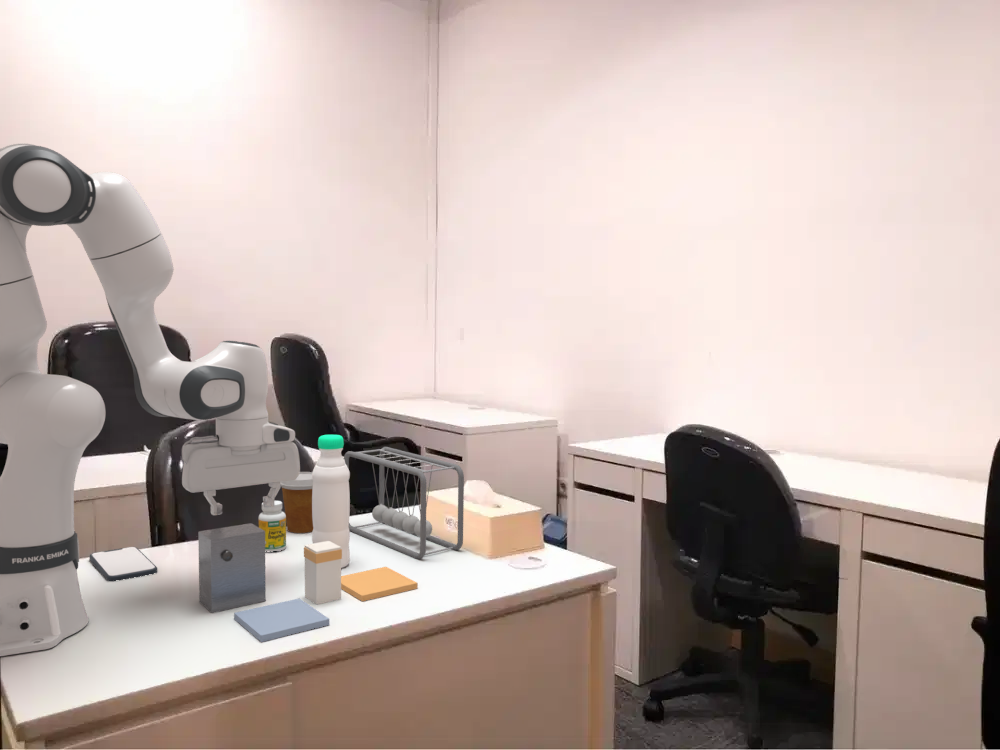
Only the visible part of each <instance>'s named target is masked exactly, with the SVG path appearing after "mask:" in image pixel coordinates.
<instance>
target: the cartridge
mask: <svg viewBox="0 0 1000 750" xmlns="http://www.w3.org/2000/svg"><path fill="white" fill-rule="evenodd" d="M303 557H304V597H305V598H306V599H307V600H309V601H310V600H311V601H310V602H312V603H313V602H314V604H315V605H316V604H317V605H321V604H324V603H331V602H333V600H334V601H338V599H339V600H342V589H341V576H342V568H341V559H342V549H341V547H340V546H338V545H336V544H334V543H332V542H330V541H325V542H319V543H314V544H313V543H310V544H305V545H304V547H303Z"/></svg>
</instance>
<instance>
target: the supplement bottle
mask: <svg viewBox="0 0 1000 750" xmlns="http://www.w3.org/2000/svg"><path fill="white" fill-rule="evenodd" d="M261 510H262V512H260V513H259V515H258V527H259V528H261V529H262V530H264V531H265V551H279V552H282V551H284V550H285V549H286V548H287V522H286V515H285V511H283V502H282V501H281V500H274V507H268V508H265V507H264V506H263V502H262V503H261ZM281 550H282V551H281Z"/></svg>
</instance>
